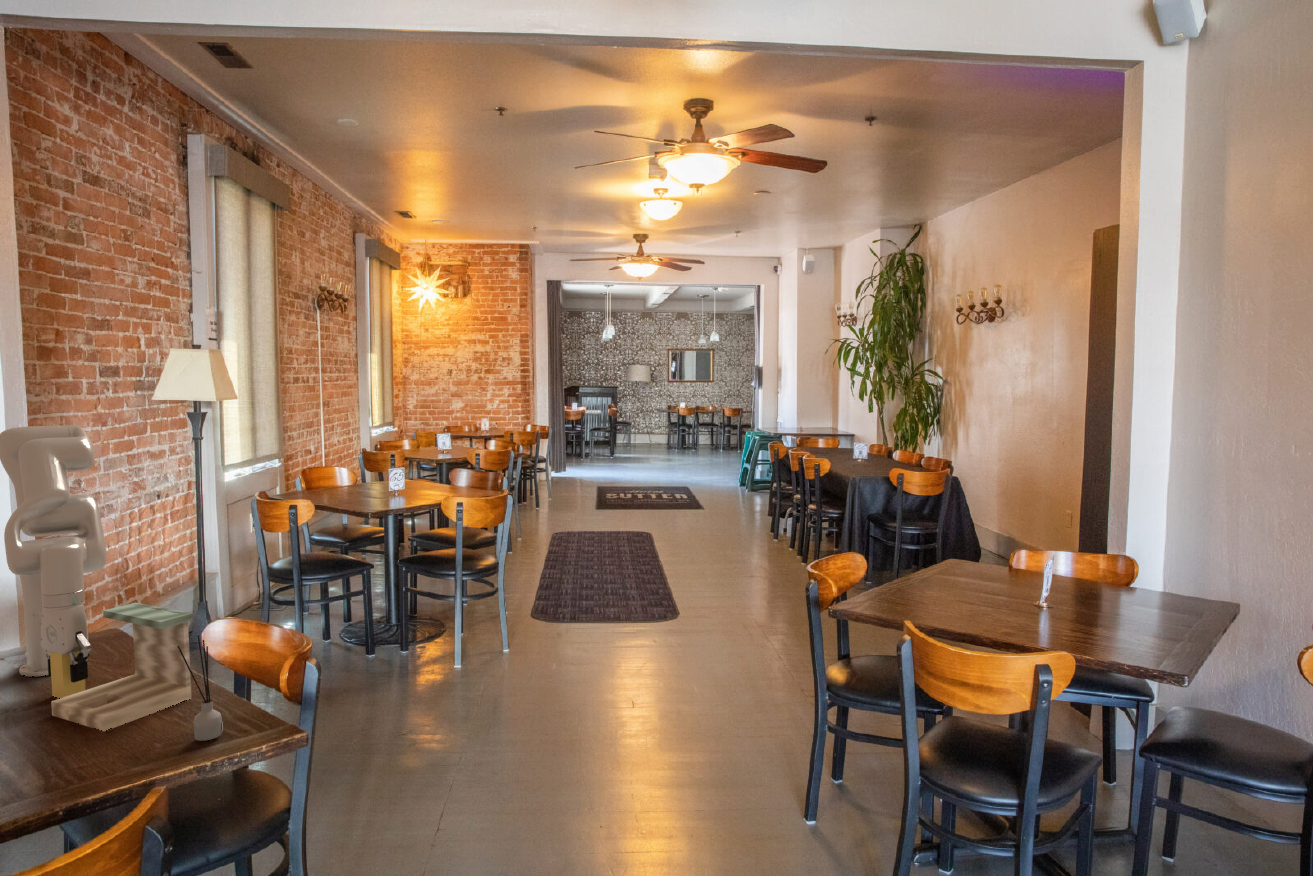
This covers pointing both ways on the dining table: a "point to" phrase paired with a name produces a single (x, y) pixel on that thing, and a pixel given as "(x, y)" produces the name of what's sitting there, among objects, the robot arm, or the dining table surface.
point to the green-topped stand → (138, 672)
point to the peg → (63, 676)
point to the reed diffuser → (205, 707)
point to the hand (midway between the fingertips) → (68, 677)
